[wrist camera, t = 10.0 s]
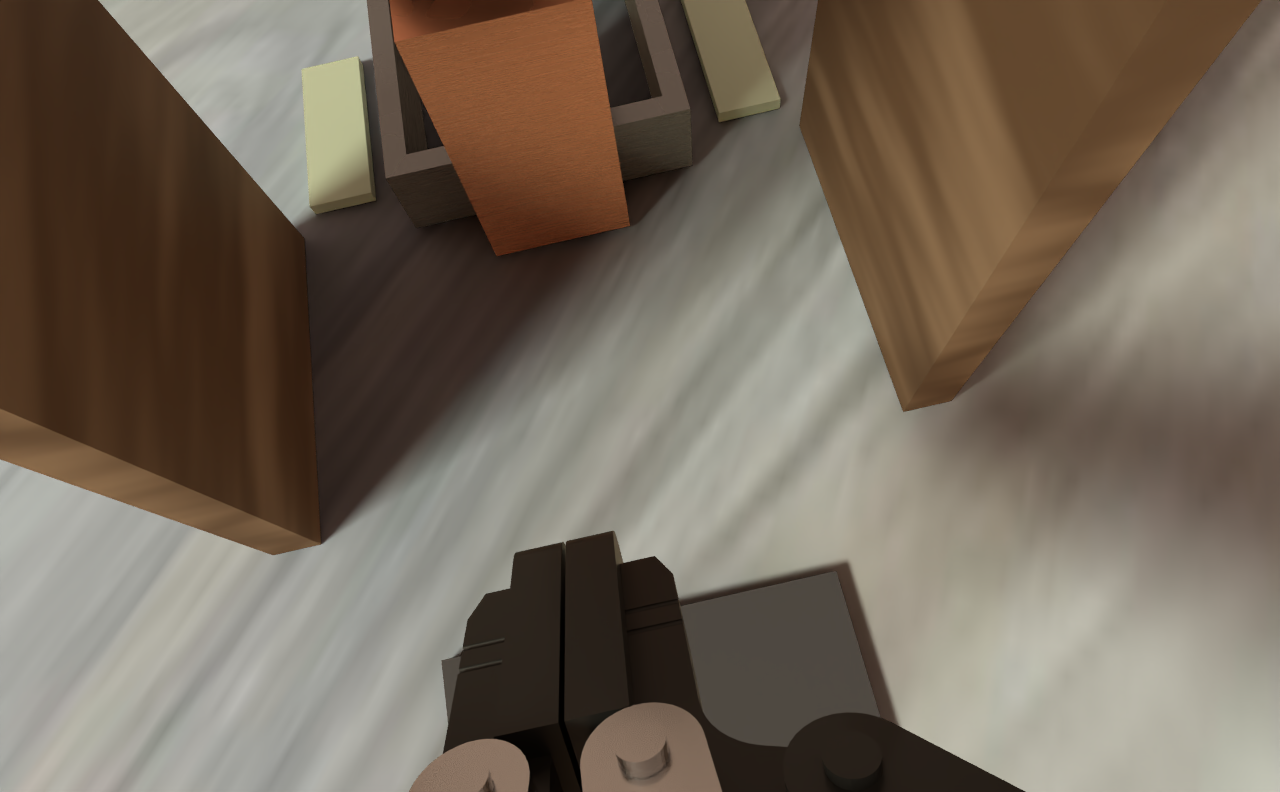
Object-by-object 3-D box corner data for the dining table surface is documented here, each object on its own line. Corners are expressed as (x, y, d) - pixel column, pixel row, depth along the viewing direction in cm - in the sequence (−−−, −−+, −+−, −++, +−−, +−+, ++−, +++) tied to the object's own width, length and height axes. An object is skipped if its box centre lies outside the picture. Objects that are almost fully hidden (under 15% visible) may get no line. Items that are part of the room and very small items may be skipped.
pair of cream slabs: (734, -20, 33) (734, -30, 33) (779, 108, 31) (780, 99, 30) (307, 78, 33) (301, 69, 33) (316, 214, 31) (309, 206, 30)
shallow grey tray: (635, -33, 34) (605, -316, 24) (705, 208, 29) (701, -29, 20) (391, 22, 34) (269, -239, 24) (421, 273, 29) (284, 66, 20)
